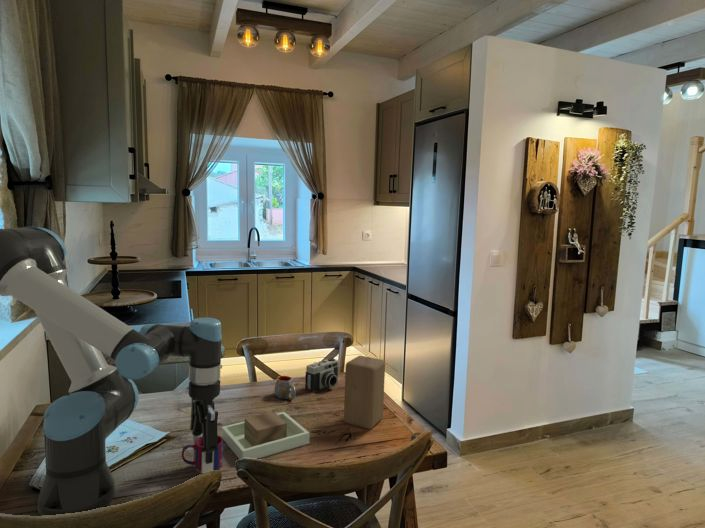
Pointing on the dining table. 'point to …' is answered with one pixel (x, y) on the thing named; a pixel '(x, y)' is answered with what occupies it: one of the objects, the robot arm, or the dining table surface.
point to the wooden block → (364, 391)
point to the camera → (321, 375)
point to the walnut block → (264, 428)
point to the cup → (198, 459)
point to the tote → (244, 449)
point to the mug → (285, 388)
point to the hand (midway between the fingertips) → (202, 466)
